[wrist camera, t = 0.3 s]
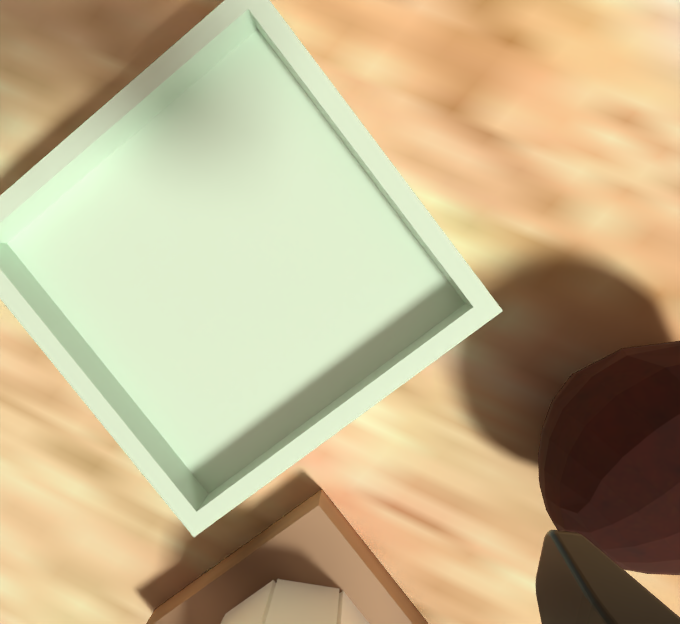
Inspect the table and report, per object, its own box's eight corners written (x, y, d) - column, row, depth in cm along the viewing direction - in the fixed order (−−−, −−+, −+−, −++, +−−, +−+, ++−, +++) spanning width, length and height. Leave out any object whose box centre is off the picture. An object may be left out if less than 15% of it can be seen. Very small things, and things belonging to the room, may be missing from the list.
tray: (210, 511, 23) (193, 537, 21) (-9, 240, 22) (-49, 238, 20) (489, 305, 21) (503, 310, 19) (263, 6, 21) (251, -24, 19)
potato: (467, 420, 22) (520, 505, 14) (637, 279, 21) (792, 290, 13) (585, 553, 22) (699, 705, 15) (758, 420, 21) (977, 510, 14)
